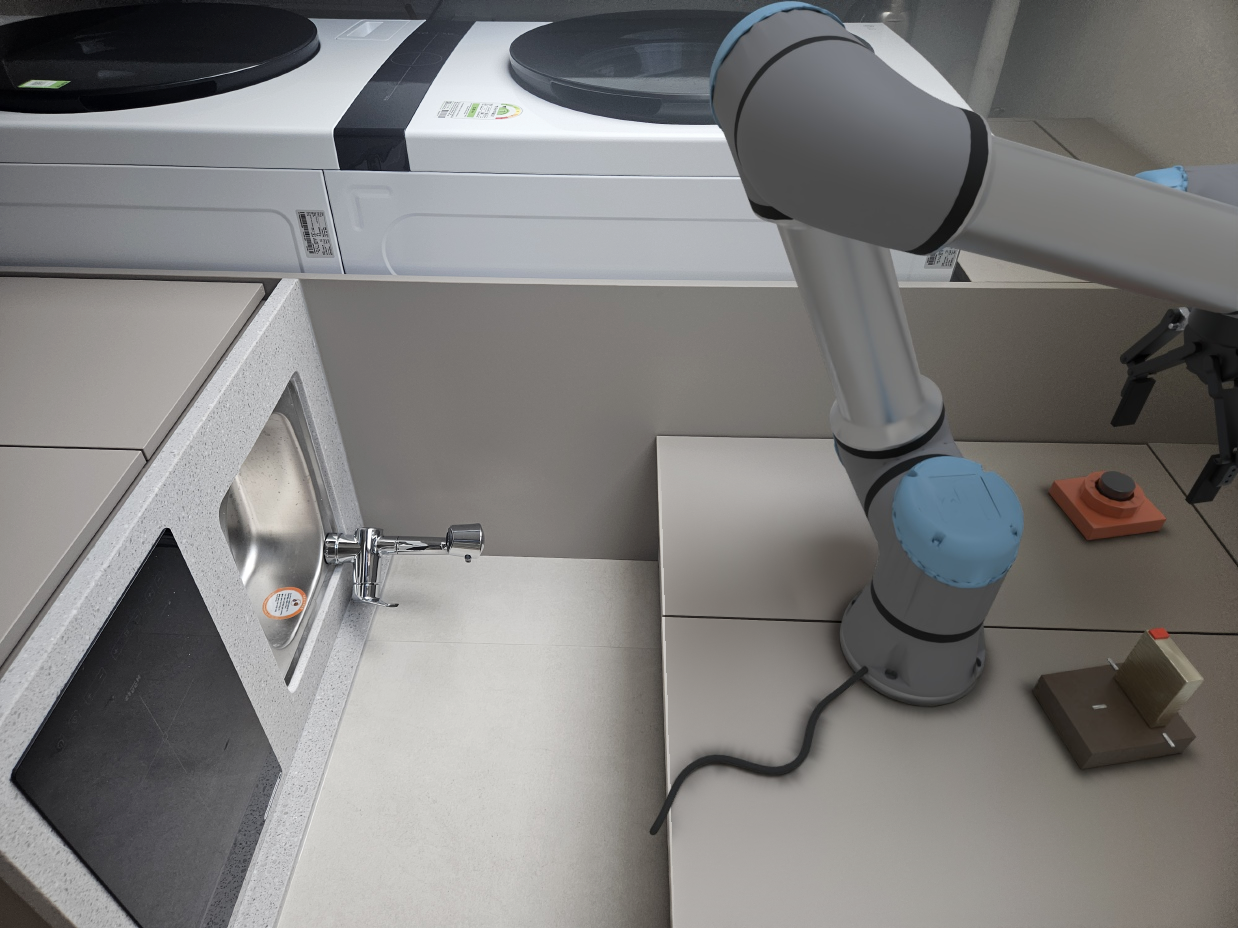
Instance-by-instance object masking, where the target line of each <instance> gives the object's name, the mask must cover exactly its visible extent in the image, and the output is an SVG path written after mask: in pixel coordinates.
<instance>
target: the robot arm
mask: <svg viewBox="0 0 1238 928" xmlns="http://www.w3.org/2000/svg"><path fill="white" fill-rule="evenodd" d="M709 72H710V73H709V81H708V92H709V107H710V112H711V114H712V116H713V120H714V122H715V124H716V125H717V127H718V129H720V130H721V132H722V133H723V135H724V138H725V140H726V143H727V146H728V149H729V151H730V154H731V156H732V159H733V162H734V164H735V167H736V170H737V173H738V176H739V178H740V181H741V184H742V186H743V189H744V192H745V194H746V195H745V196H746V197H747V201H748V203H749V205H750V208H751V210H752V213H753V214H754V215H755V216H756V217H757V218H758V219H760V220H762V221H764V222H768V223H771V224H775V226H776V228H777V231H778V233H779V236H780V240H781V242H782V245H783V248H784V250H785V254H786V257H787V259H788V263H789V265H790V268H791V271H792V275H793V277H794V280H795V283H796V286H797V289H798V292H799V295H800V297H801V300H802V303H803V306H804V309H805V311H806V314H807V318H808V321H809V323H810V326H811V329H812V332H813V335H814V338H815V341H816V344H817V347H818V350H819V353H820V355H821V358H822V361H823V364H824V367H825V370H826V374H827V376H828V379H829V382H830V385H831V388H832V391H833V394H834V395H835V396H834V397H835V400H834V402H833V403H832V406H831V408H830V411H829V417H828V420H829V426H830V429H831V431H832V432H831V433H832V438H833V447H834V450H835V453H836V457H837V458H838V460H839V462H840V463H841V465H842V467H843V468H844V470H845V473H846V474H847V476H848V479H849V481H850V483H851V485H852V488H853V491H854V492H855V495H856V496H857V499H858V501H859V504H860V506H861V508H862V510H863V512H864V515H865V517H866V520H867V522H868V524H869V527H870V529H871V532H872V534H873V537H874V538H875V540H876V543H877V546H878V557H877V559H876V562H875V563H876V564H875V567H874V571H873V574H872V576H871V577H872V578H871V580H869V582H868V583H866V584H865V586H864V587H863V588H862V590H861V591H859V592H858V593H857V594H856V595H855V596H854V597H853V598H852V599H851V600H850V602H849V604H848V605H847V606H846V608H845V610H844V613H843V616H842V619H841V623H840V627H839V643H840V647H841V650H842V654H843V656H844V658H845V660H846V662H847V663H848V665H849V666H850V668H851V669H852V670H853V672H854V674H853V675H852V676H850V677H849V678H848V679H846V680H845V681H844V682H843V683H841V685H839V686H838V687H837V688H836V689H834V690H833V691H831V692H830V693H829V694H827V695H826V696H825V697H824V698H823V699H822V700H821V701H820V702H819V703H818V704H817V705H816V707H815V708H814V709H813V711H812V712H811V715H810V717H809V719H808V723H807V727H806V731H805V737H804V741H803V745H802V749H801V750H800V752H799V754H798V755H797V757H795V759H793V760H791V761H790V762H789V763H786V764H783V765H778V766H770V765H769V766H768V765H762V764H760V763H759V764H758V763H755V762H753V761H752V762H751V761H749V760H745V759H742V758H738V757H734V756H732V755H731V756H730V755H726V754H711V755H705V756H702V757H699V758H697V759H695V760H693V761H692V762H690V763H689V764H688V765H686V766H685V767H684V769H682V770H681V771H680V773H678V775H677V777H676V778H675V779H674V781H673V783H672V785H671V787H670V789H669V792H668V794H667V796H666V798H665V800H664V802H663V805H662V806H661V809H660V811H659V813H658V815H657V817H656V818H655V820H654V822H653V824H652V826H651V827H650V829H649V832H648V833H649V835H651V836H656V835H657V834H658V832H659V831H660V829H661V827H662V826H663V824H664V823H665V820H666V818H667V816H668V815H669V812H670V811H671V808H672V806H673V803H674V801H675V799H676V796H677V794H678V792H679V790H680V788H681V786H682V784H683V783H684V782H685V780H686V778H687V777H688V776H689V775H690V774H691V773H693V772H694V771H695V770H696V769H698V768H700V767H702V766H705V765H707V764H713V763H723V764H728V765H732V766H736V767H739V768H743V769H746V770H749V771H751V772H756V773H760V774H765V775H782V774H787V773H789V772H792V771H794V770H796V768H798V767H800V765H802V764H803V763H804V762H805V760H806V759H807V757H808V755H809V753H810V750H811V747H812V743H813V738H814V732H815V728H816V724H817V722H818V719H819V717H820V716H821V713H822V712H823V711H824V709H825V708H826V707H828V705H829V704H830V703H832V702H833V701H834V700H835V699H837V698H839V696H841V695H842V694H843V693H845V692H846V691H848V690H849V689H850V688H851V687H852V686H853V685H855V684H856V683H857V682H858V681H859V680H862V681H863V683H865V684H866V685H868V686H869V687H871V688H872V689H874V690H875V691H876V692H879V694H882V695H884V696H886V697H888V698H890V699H892V700H894V701H897V702H901V703H903V704H908V705H913V706H921V707H935V706H942V705H947V704H950V703H954V702H956V701H957V700H961V698H963V697H965V696H966V695H967V694H968V693H969V692H970V691H971V690H972V689H973V688H974V687H975V686H976V685H977V682H978V680H979V678H980V676H981V674H982V672H983V670H984V667H985V663H986V650H987V649H986V638H985V624H984V622H985V620H986V617H987V615H988V613H989V612H990V610H991V608H992V606H993V604H994V602H995V599H996V598H997V596H998V593H999V592H1000V589H1001V587H1002V585H1003V583H1004V581H1005V579H1006V577H1007V575H1008V573H1009V572H1010V570H1011V568H1012V566H1013V563H1015V560H1016V558H1017V556H1018V553H1019V548H1020V544H1021V541H1022V540H1021V539H1022V537H1023V532H1024V529H1025V527H1024V526H1025V519H1024V518H1025V517H1024V511H1023V507H1022V503H1021V501H1020V500H1019V497H1018V495H1017V493H1015V491H1014V489H1013V488H1012V487H1011V486H1010V484H1009V483H1008V482H1007V481H1006V480H1005V479H1004V478H1003V477H1002V476H1001V475H999V474H998V473H997V472H995V471H993V470H990V471H985V470H983V464H981V463H979V462H978V461H974V460H971V459H969V458H965V457H964V455H963V454H962V452H961V450H960V448H959V447H958V445H957V443H956V441H955V440H954V437H953V434H952V432H951V429H950V425H949V419H948V415H947V412H946V407H945V402H944V399H943V395H942V392H941V390H940V388H939V386H938V385H937V384H936V383H935V382H934V381H933V380H932V379H931V378H930V377H928V376H926V375H924V374H921V371H920V367H919V362H918V359H917V355H916V351H915V346H914V342H913V339H912V338H913V337H912V334H911V330H910V325H909V323H908V318H907V314H906V310H905V305H904V301H903V298H902V294H901V290H900V287H899V282H898V277H897V273H896V269H895V265H894V262H893V257H892V252H891V250H894V251H898V252H903V253H906V254H911V255H915V256H921V257H929V256H932V255H935V254H938V253H939V252H941V251H943V250H944V249H946V248H951V249H954V250H959V251H963V252H968V253H971V254H975V255H979V256H983V257H987V258H991V259H996V260H1000V261H1004V262H1008V263H1012V264H1015V265H1020V266H1024V267H1028V268H1031V269H1037V270H1041V271H1045V272H1049V273H1053V274H1057V275H1061V276H1064V277H1069V278H1071V279H1072V278H1073V279H1076V280H1081V281H1084V282H1088V283H1093V284H1096V285H1097V284H1098V285H1101V286H1106V287H1109V288H1113V289H1117V290H1122V291H1125V292H1130V293H1133V294H1137V295H1142V296H1146V297H1150V298H1153V299H1157V300H1162V301H1166V302H1170V303H1175V304H1177V305H1183V307H1182V306H1181V307H1173V308H1169V309H1167V310H1166V312H1165V313H1164V315H1163V317H1162V318H1161V320H1160V321H1159V323H1158V324H1157V325H1156V326H1154V327H1153V328H1152V329H1150V330H1149V331H1148V332H1147V333H1146V334H1145V335H1143V336H1142V337H1141V338H1140V339H1138V340H1137V341H1136V342H1134V344H1133V345H1131V346H1130V347H1129V348H1127V350H1125V351H1124V352H1123V353H1122V354H1121V355H1119V356H1120V357H1119V362H1120V363H1121V364H1122V365H1126V367H1127V370H1126V374H1127V378H1126V380H1125V383H1124V384H1123V386H1122V388H1121V391H1120V397H1121V399H1120V402H1118V403H1119V404H1118V406H1117V408H1116V410H1115V412H1114V414H1113V416H1112V418H1111V420H1110V425H1111V426H1112V427H1113V428H1119V427H1126V426H1132V425H1133V426H1134V425H1136V422H1137V421H1138V418H1139V417H1140V414H1141V413H1142V410H1143V409H1144V407H1145V404H1146V402H1147V400H1148V398H1149V396H1150V395H1151V392H1152V390H1153V389H1154V387H1155V385H1156V382H1157V380H1156V379H1155V378H1154V377H1152V376H1153V375H1157V374H1158V373H1161V372H1163V371H1166V370H1169V369H1172V368H1174V367H1178V366H1180V365H1183V364H1185V365H1186V367H1185V369H1186V370H1187V371H1188V372H1190V373H1191V374H1194V375H1196V377H1198V379H1199V381H1200V382H1201V383H1203V384H1204V385H1205V386H1206V385H1207V392H1208V396H1209V398H1212V399H1213V405H1214V415H1215V423H1216V425H1215V426H1216V433H1217V434H1216V435H1217V442H1218V452H1219V453H1215V454H1211V455H1210V457H1209V458H1208V460H1207V462H1206V463H1205V465H1204V467H1203V468H1202V469H1201V472H1200V473H1199V474H1198V477H1197V478H1196V480H1195V482H1194V484H1193V485H1192V486H1191V489H1190V490H1189V492H1188V494H1187V495H1186V497H1185V498H1184V500H1185V502H1186V503H1187V504H1188V505H1195V504H1196V505H1197V504H1204V503H1210V502H1213V501H1214V499H1215V498H1216V496H1217V495H1218V493H1219V492H1220V490H1221V488H1222V487H1226V486H1229V485H1231V484H1232V483H1233V481H1234V479H1235V478H1236V477H1237V475H1238V163H1224V164H1221V163H1220V164H1207V165H1204V164H1203V165H1187V166H1182V165H1173V166H1172V167H1166V168H1162V169H1161V168H1159V169H1151V170H1145V171H1142V172H1139V173H1137V174H1135V175H1131V174H1126V173H1123V172H1120V171H1116V170H1113V169H1110V168H1106V167H1102V166H1100V165H1099V166H1098V165H1095V164H1092V163H1090V162H1085V161H1083V160H1079V159H1075V158H1072V157H1068V156H1065V155H1061V154H1058V153H1055V152H1051V151H1049V150H1045V149H1041V148H1037V147H1034V146H1030V145H1028V144H1024V143H1020V142H1018V141H1014V140H1010V139H1007V138H1004V137H1000V136H997V135H993V134H992V129H991V127H990V125H989V123H988V121H987V119H986V118H985V117H984V116H983V115H982V114H980V113H978V112H976V111H973V110H970V109H967V108H963V107H960V106H956V105H953V104H951V103H949V102H947V101H944V100H942V99H941V98H938V97H936V96H934V95H932V94H930V93H928V92H926V91H925V90H924V89H922V88H920V87H919V86H916V85H915V84H914V83H913V82H911V81H909V80H908V79H907V78H906V77H904V76H903V75H901V73H899V72H898V71H896V70H895V69H893V67H892V66H890V65H889V64H887V62H885V61H884V60H883V59H882V58H880V57H879V55H877V54H876V53H874V52H873V51H872V50H871V49H870V48H869V47H868V46H866V45H865V44H864V43H863V42H861V41H860V40H859V39H858V38H857V37H856V36H854V35H853V34H852V33H851V32H850V31H848V30H847V28H846V26H845V24H844V23H843V21H842V20H840V18H839V17H838V16H836V15H835V14H834V13H832V12H831V11H829V10H828V9H825V8H822V7H820V6H816V5H813V4H810V3H807V2H802V1H794V0H789V1H788V0H786V1H779V2H774V3H771V4H768V5H765V6H762V7H760V8H758V9H756V10H755V11H753V12H751V13H750V14H748V15H746V16H745V17H744V18H742V19H741V20H740V21H739V22H738V23H737V24H736V25H735V26H733V28H732V29H731V30H730V31H729V33H728V34H727V35H726V37H724V39H723V41H722V42H721V44H720V46H719V48H718V50H717V52H716V54H715V57H714V60H713V62H712V65H711V67H710V71H709ZM1182 332H1183V344H1182V345H1181V346H1179V347H1176V348H1172V349H1171V350H1168V351H1166V352H1165V353H1163V354H1159V355H1158V356H1155V357H1152V356H1153V355H1154V354H1156V353H1157V352H1158V351H1159V350H1161V349H1162V348H1163V347H1165V346H1166V345H1168V344H1169V343H1170V342H1171V341H1172V340H1174V339H1175V338H1176V337H1178V336H1179V335H1180V334H1181V333H1182ZM1151 357H1152V358H1151ZM1149 358H1150V359H1149ZM1149 376H1151V377H1149ZM1232 382H1233V387H1227V388H1224V387H1223V385H1227V384H1230V383H1232ZM1234 449H1236V450H1234Z"/></svg>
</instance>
